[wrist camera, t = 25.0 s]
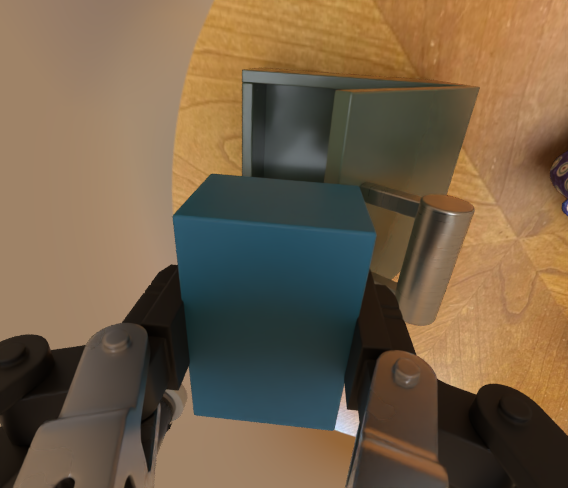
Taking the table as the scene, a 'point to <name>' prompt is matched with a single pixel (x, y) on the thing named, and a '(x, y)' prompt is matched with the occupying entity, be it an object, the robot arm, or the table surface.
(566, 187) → the teapot
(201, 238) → the blue rectangular block
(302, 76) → the bin
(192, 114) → the table surface
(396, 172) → the lid
